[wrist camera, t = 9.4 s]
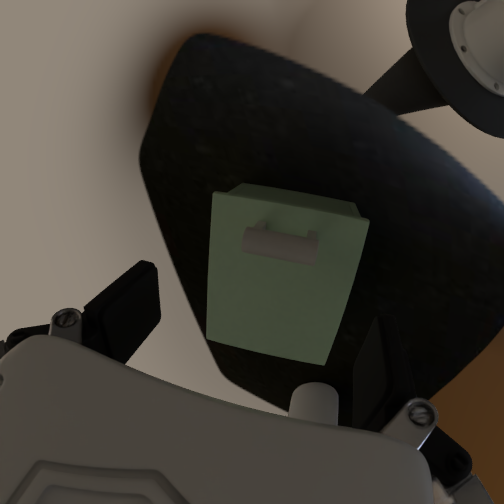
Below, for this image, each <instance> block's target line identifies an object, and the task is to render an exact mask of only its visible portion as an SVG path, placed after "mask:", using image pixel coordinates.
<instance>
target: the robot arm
mask: <svg viewBox="0 0 504 504" xmlns="http://www.w3.org/2000/svg"><path fill="white" fill-rule="evenodd" d="M449 31H450V36H451V40H452V43H453V45H454V48H455V50H456V52H457V54H458V56H459V58H460V60H461V61H462V63H463V65H464V66H465V68H466V69H467V70H468V71H469V73H470V74H471V75H472V76H473V77H474V78H475V79H476V80H477V81H478V82H479V84H481V85H482V86H483V87H485V88H486V89H487V90H489V91H490V92H492V93H494V94H496V95H499V96H501V97H504V0H481V1H479V2H475V1H466V2H463V3H461V4H459V5H458V6H457V7H456V8H455V9H454V10H453V11H452V13H451V15H450V20H449ZM160 319H161V310H160V298H159V285H158V271H157V268H156V267H155V265H154V263H152V262H148V261H144V260H141V261H139V262H138V263H137V264H135V265H134V266H133V267H131V268H130V269H129V270H128V271H126V272H125V273H124V274H123V275H121V276H120V277H119V278H118V279H117V280H115V281H114V282H113V283H112V284H110V285H109V286H108V287H107V288H106V289H104V290H103V291H102V292H101V293H100V294H98V295H97V296H96V297H95V298H94V299H92V300H91V301H90V302H89V303H88V304H86V305H85V306H84V312H83V313H81V312H80V311H79V310H77V309H74V308H66V309H62V310H60V311H58V312H56V313H55V314H54V315H53V317H52V319H51V323H50V324H46V325H40V326H33V327H27V328H21V329H17V330H15V331H13V332H12V333H11V334H10V335H9V336H8V337H7V340H6V342H4V340H2V341H0V504H494V503H493V501H492V500H491V498H490V496H489V495H488V493H487V491H486V490H485V488H484V487H483V485H482V483H481V481H480V480H479V478H478V477H477V475H476V474H475V475H472V474H471V469H472V459H471V457H470V455H469V454H468V452H467V451H466V450H465V449H464V448H462V447H461V446H460V445H459V444H458V443H456V442H455V441H454V440H453V439H452V438H450V437H449V436H448V435H447V434H446V433H445V432H443V431H442V430H441V429H440V428H439V427H437V426H436V424H437V422H438V412H437V410H436V408H435V406H434V405H433V404H432V403H431V402H429V401H428V400H426V399H422V398H416V392H415V387H414V382H413V377H412V372H411V367H410V362H409V358H408V354H407V351H406V350H405V349H403V347H402V343H401V339H400V335H399V330H398V326H397V323H396V319H395V316H394V315H389V314H383V313H381V314H380V316H375V318H374V320H373V323H372V325H371V327H370V330H369V332H368V334H367V337H366V339H365V341H364V343H363V346H362V348H361V350H360V352H359V354H358V357H357V359H356V361H355V363H354V367H353V421H352V428H349V427H342V426H336V425H329V424H323V423H318V422H312V421H307V420H302V419H296V418H291V417H286V416H282V415H277V414H273V413H268V412H264V411H260V410H256V409H252V408H248V407H244V406H240V405H237V404H233V403H230V402H226V401H223V400H220V399H216V398H213V397H210V396H207V395H203V394H200V393H197V392H194V391H191V390H189V389H186V388H182V387H180V386H177V385H174V384H172V383H169V382H166V381H164V380H161V379H158V378H156V377H153V376H151V375H148V374H146V373H143V372H141V371H138V370H136V369H134V368H131V367H129V366H127V365H125V364H126V362H127V361H128V360H129V359H130V357H131V356H132V355H133V354H134V353H135V351H136V350H137V349H138V348H139V346H140V345H141V344H142V343H143V341H144V340H145V339H146V338H147V337H148V335H149V334H150V333H151V332H152V331H153V329H154V328H155V327H156V325H157V324H158V323H159V322H160Z"/></svg>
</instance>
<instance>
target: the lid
mask: <svg viewBox="0 0 504 504" xmlns="http://www.w3.org/2000/svg"><path fill="white" fill-rule="evenodd" d="M368 227H369V220H368V219H366V218H361V217H356V216H352V215H347V214H342V213H337V212H332V211H327V210H322V209H317V208H312V207H307V206H302V205H296V204H291V203H285V202H279V201H274V200H268V199H262V198H256V197H250V196H243V195H237V194H230V193H223V192H217V191H216V192H214V193H213V201H212V216H211V232H210V250H209V271H208V296H207V333H206V339H209V340H213V341H216V342H220V343H224V344H228V345H231V346H235V347H239V348H243V349H247V350H252V351H256V352H260V353H265V354H269V355H274V356H278V357H283V358H288V359H293V360H298V361H303V362H308V363H313V364H319V365H325V362H326V360H327V357H328V355H329V352H330V349H331V347H332V344H333V341H334V339H335V336H336V333H337V330H338V327H339V324H340V322H341V319H342V316H343V313H344V310H345V307H346V304H347V301H348V297H349V294H350V291H351V288H352V285H353V281H354V278H355V275H356V271H357V268H358V264H359V261H360V257H361V254H362V250H363V246H364V242H365V238H366V235H367V231H368Z"/></svg>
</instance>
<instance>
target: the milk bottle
mask: <svg viewBox="0 0 504 504" xmlns="http://www.w3.org/2000/svg"><path fill="white" fill-rule="evenodd" d="M288 417H291V418H296V419H302V420H307V421H312V422H318V423H323V424H329V425H336V426H337V423H338V393H337V392H336V390H335V389H334V388H333V387H332V386H330V385H328V384H325V383H319V382H311V383H306V384H303V385H301V386H299V387H298V388H297V389H296V390H295V391H294V392H293V394H292V398H291V403H290V408H289V413H288Z"/></svg>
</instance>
